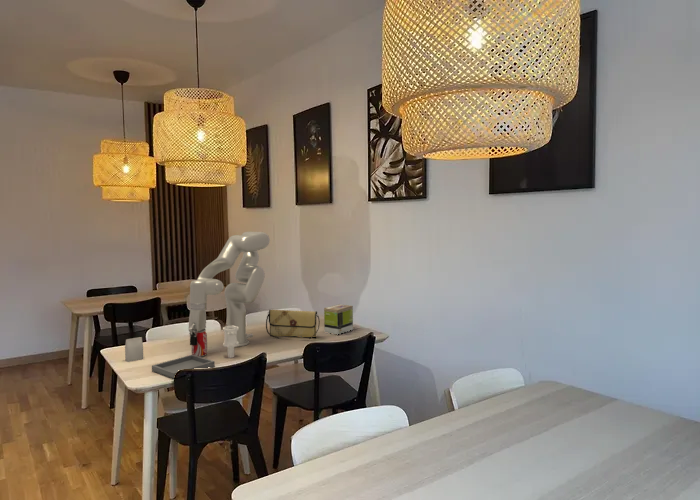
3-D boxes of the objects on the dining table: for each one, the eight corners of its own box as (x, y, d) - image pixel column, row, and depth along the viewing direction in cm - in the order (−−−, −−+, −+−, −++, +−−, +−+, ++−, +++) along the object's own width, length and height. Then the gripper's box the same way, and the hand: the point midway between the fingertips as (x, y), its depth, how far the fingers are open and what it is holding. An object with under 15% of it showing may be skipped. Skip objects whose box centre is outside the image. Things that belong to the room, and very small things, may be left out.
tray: (192, 359, 214) (192, 354, 214) (214, 366, 205) (214, 361, 204) (151, 371, 198) (151, 365, 198) (173, 379, 188) (173, 373, 188)
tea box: (339, 328, 278) (339, 303, 276) (353, 330, 272) (353, 305, 271) (323, 333, 265) (323, 307, 264) (337, 335, 259) (337, 309, 258)
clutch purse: (264, 338, 252) (264, 311, 251) (268, 335, 259) (268, 308, 258) (317, 341, 248) (317, 313, 247) (320, 338, 255) (320, 311, 254)
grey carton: (143, 359, 214) (142, 337, 214) (127, 362, 210) (127, 340, 209) (140, 357, 217) (140, 336, 216) (125, 360, 213) (124, 338, 212)
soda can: (202, 358, 216) (202, 332, 216) (188, 357, 218) (188, 332, 217) (210, 353, 223) (209, 329, 222) (196, 352, 225) (196, 328, 224)
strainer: (230, 359, 215) (230, 327, 213) (219, 357, 218) (219, 325, 217) (241, 356, 221) (241, 324, 219) (231, 353, 224) (230, 322, 223)
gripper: (197, 303, 227) (197, 338, 228) (182, 309, 210) (182, 346, 211) (212, 304, 227) (212, 338, 228) (198, 310, 210) (198, 347, 210)
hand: (197, 342), depth 219 cm, fingers open, 9 cm apart
